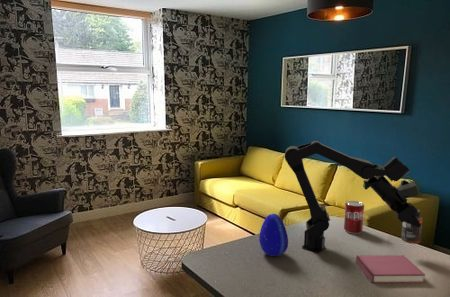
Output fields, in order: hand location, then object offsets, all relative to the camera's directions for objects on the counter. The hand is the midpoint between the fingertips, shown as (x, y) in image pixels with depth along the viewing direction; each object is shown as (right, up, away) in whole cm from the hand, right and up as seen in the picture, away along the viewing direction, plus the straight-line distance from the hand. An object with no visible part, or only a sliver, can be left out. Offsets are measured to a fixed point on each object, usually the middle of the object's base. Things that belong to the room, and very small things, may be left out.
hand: (416, 223), depth 115 cm
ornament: (-49, -12, +4) cm, 51 cm away
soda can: (-13, -9, +24) cm, 29 cm away
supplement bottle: (-1, -7, +1) cm, 7 cm away
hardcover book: (-14, -14, -8) cm, 21 cm away
